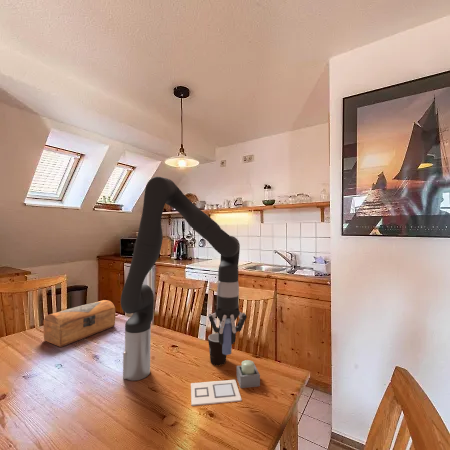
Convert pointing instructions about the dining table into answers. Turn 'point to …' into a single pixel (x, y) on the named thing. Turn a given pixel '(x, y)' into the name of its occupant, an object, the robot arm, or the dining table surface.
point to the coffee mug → (216, 350)
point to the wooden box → (78, 322)
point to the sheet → (214, 392)
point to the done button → (247, 367)
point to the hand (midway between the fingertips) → (226, 343)
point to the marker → (227, 337)
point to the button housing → (248, 378)
